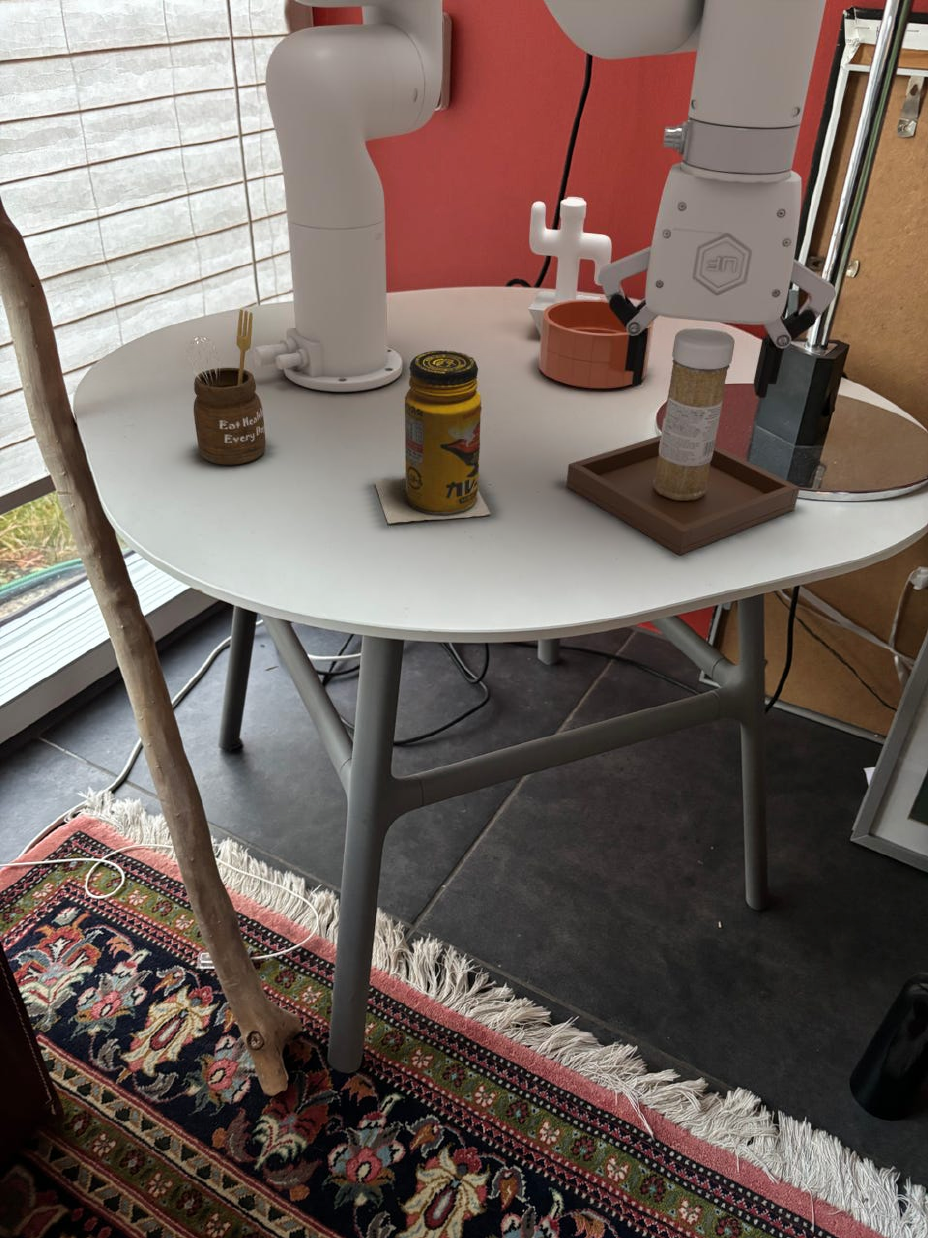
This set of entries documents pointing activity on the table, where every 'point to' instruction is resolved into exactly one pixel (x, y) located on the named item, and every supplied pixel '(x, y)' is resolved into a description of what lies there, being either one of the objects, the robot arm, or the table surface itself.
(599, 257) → the figurine
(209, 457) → the utensil holder
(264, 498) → the table surface
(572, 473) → the tray
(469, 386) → the condiment
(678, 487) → the sprinkles bottle
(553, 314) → the bowl
